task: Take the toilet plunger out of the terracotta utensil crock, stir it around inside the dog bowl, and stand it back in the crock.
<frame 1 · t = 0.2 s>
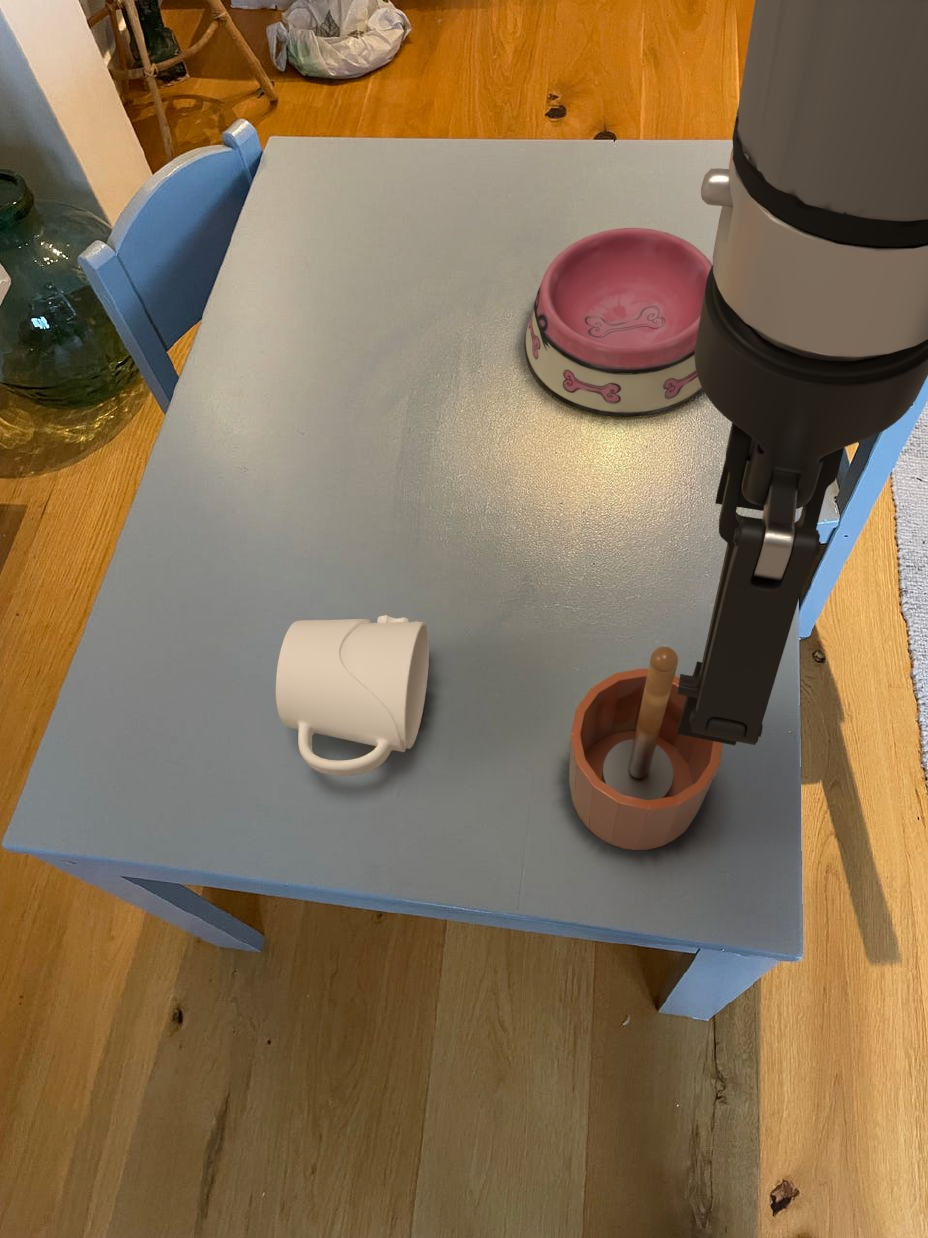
hand: (725, 610, 47), 23 cm above the table, tool pointing down, fingers open, 13 cm apart
toilet plunger: (635, 784, 66), resting on crock
crock: (634, 786, 67), on the table
mug: (362, 716, 71), on the table
dog bowl: (624, 343, 87), on the table
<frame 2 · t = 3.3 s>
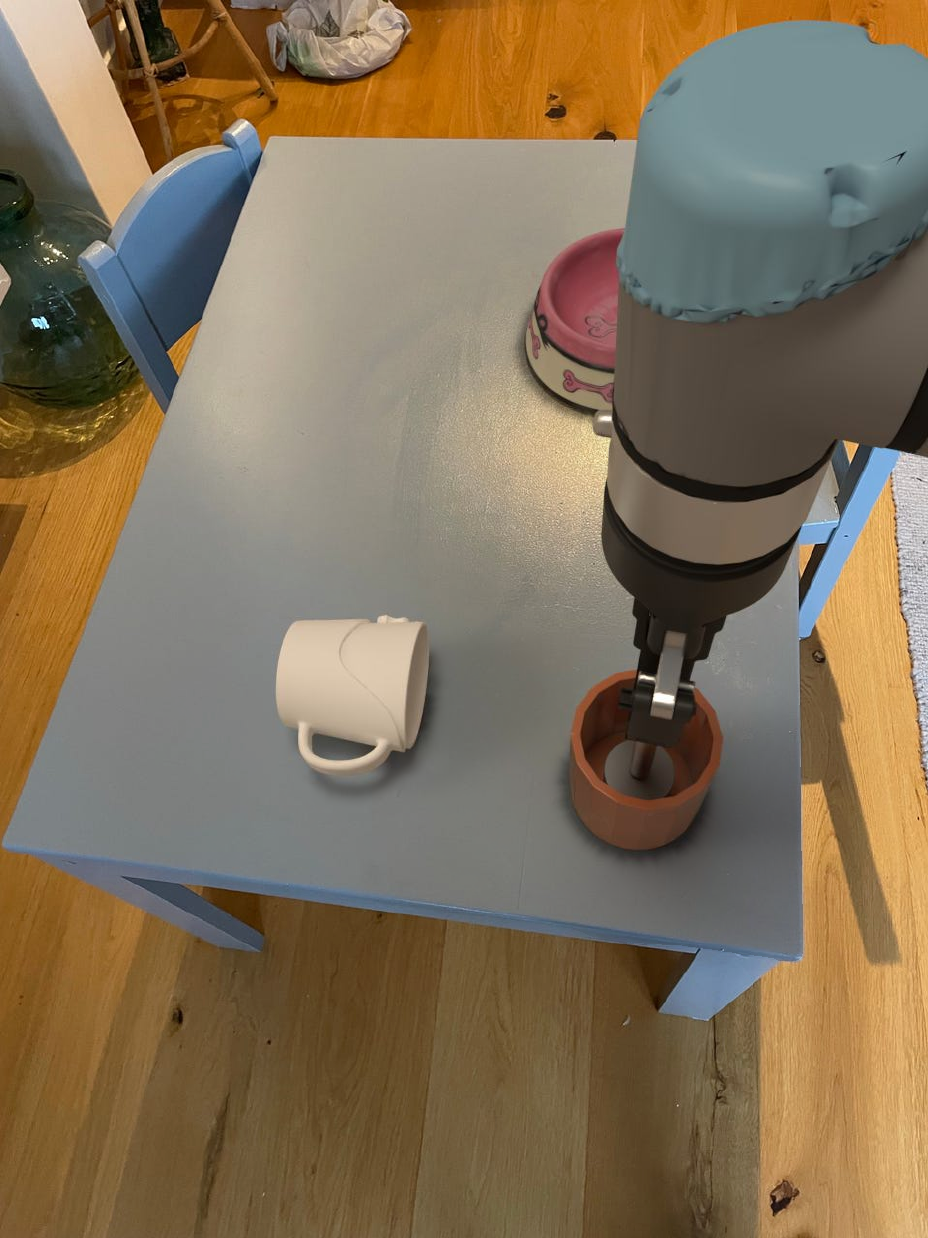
hand: (651, 721, 56), 13 cm above the table, tool pointing down, fingers closed on toilet plunger
toilet plunger: (636, 784, 66), point 1 cm above the table, touching gripper
everything else where it was.
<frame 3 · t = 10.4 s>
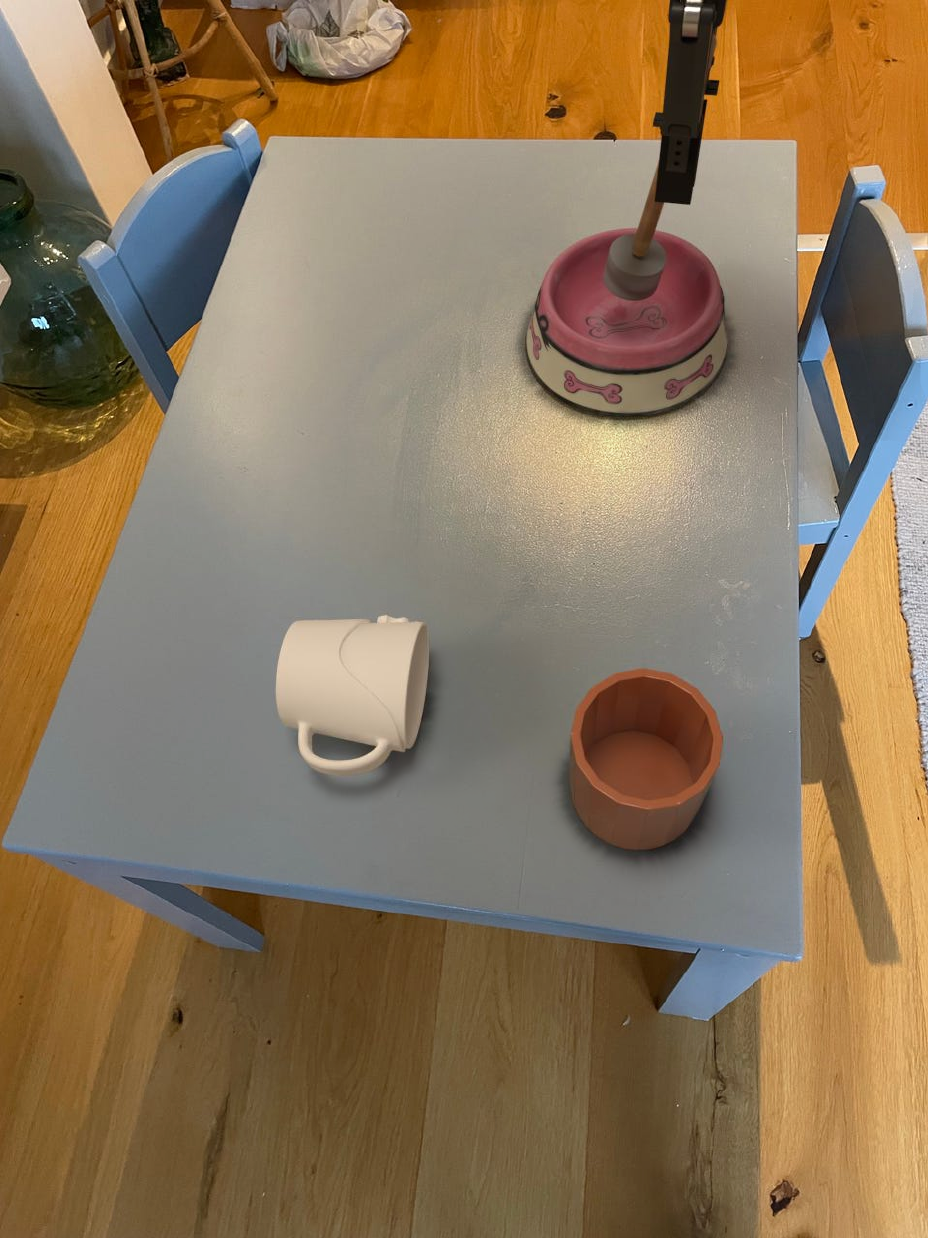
hand: (675, 190, 71), 17 cm above the table, tool pointing down, fingers closed on toilet plunger
toilet plunger: (630, 279, 80), point 8 cm above the table, tilted 10°, touching gripper
everything else where it was.
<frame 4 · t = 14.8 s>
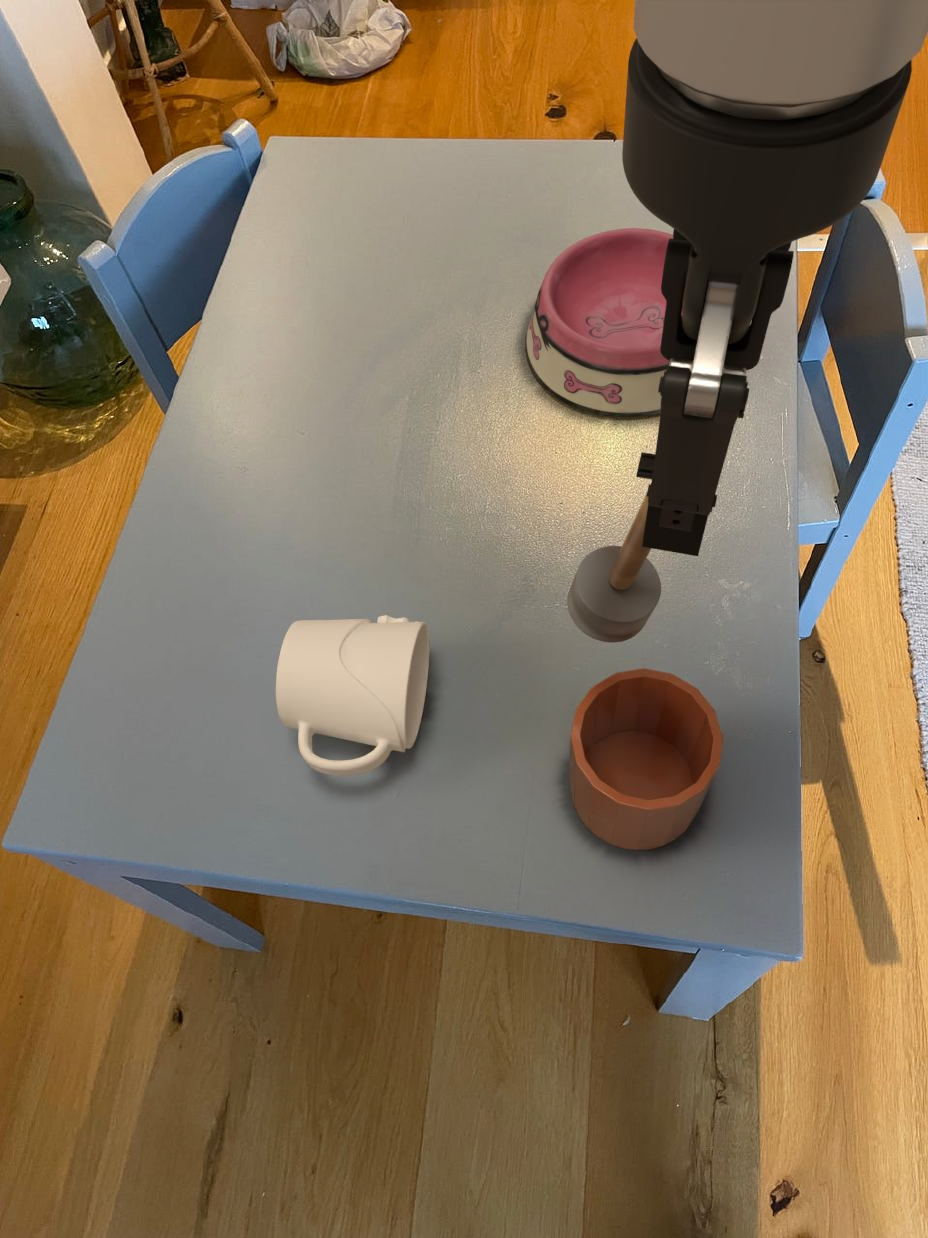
hand: (674, 527, 46), 26 cm above the table, tool pointing down, fingers closed on toilet plunger
toilet plunger: (607, 605, 54), point 17 cm above the table, tilted 10°, touching gripper
everything else where it was.
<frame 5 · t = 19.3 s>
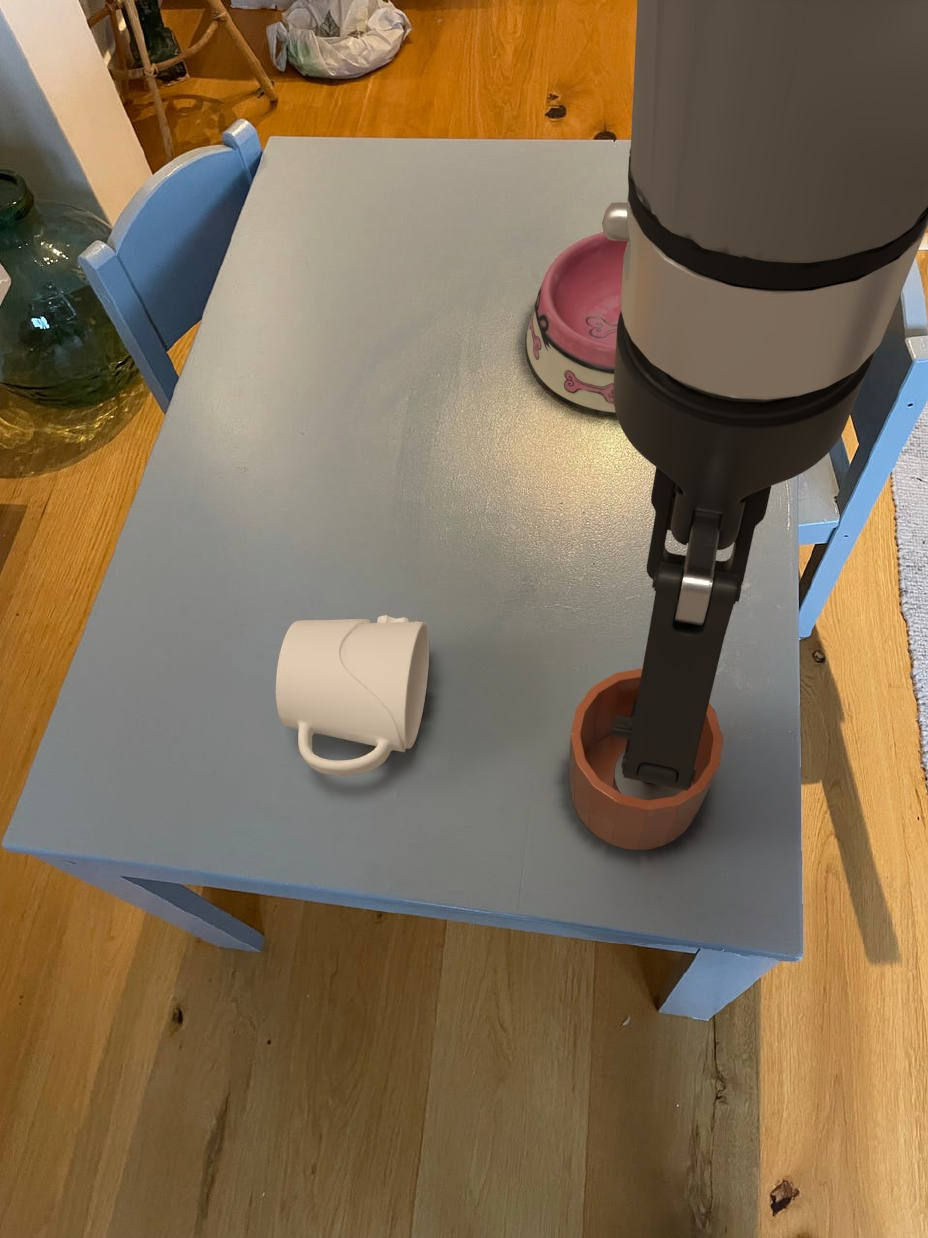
hand: (674, 641, 46), 23 cm above the table, tool pointing down, fingers open, 13 cm apart
toilet plunger: (646, 788, 66), point 1 cm above the table, touching crock
everything else where it was.
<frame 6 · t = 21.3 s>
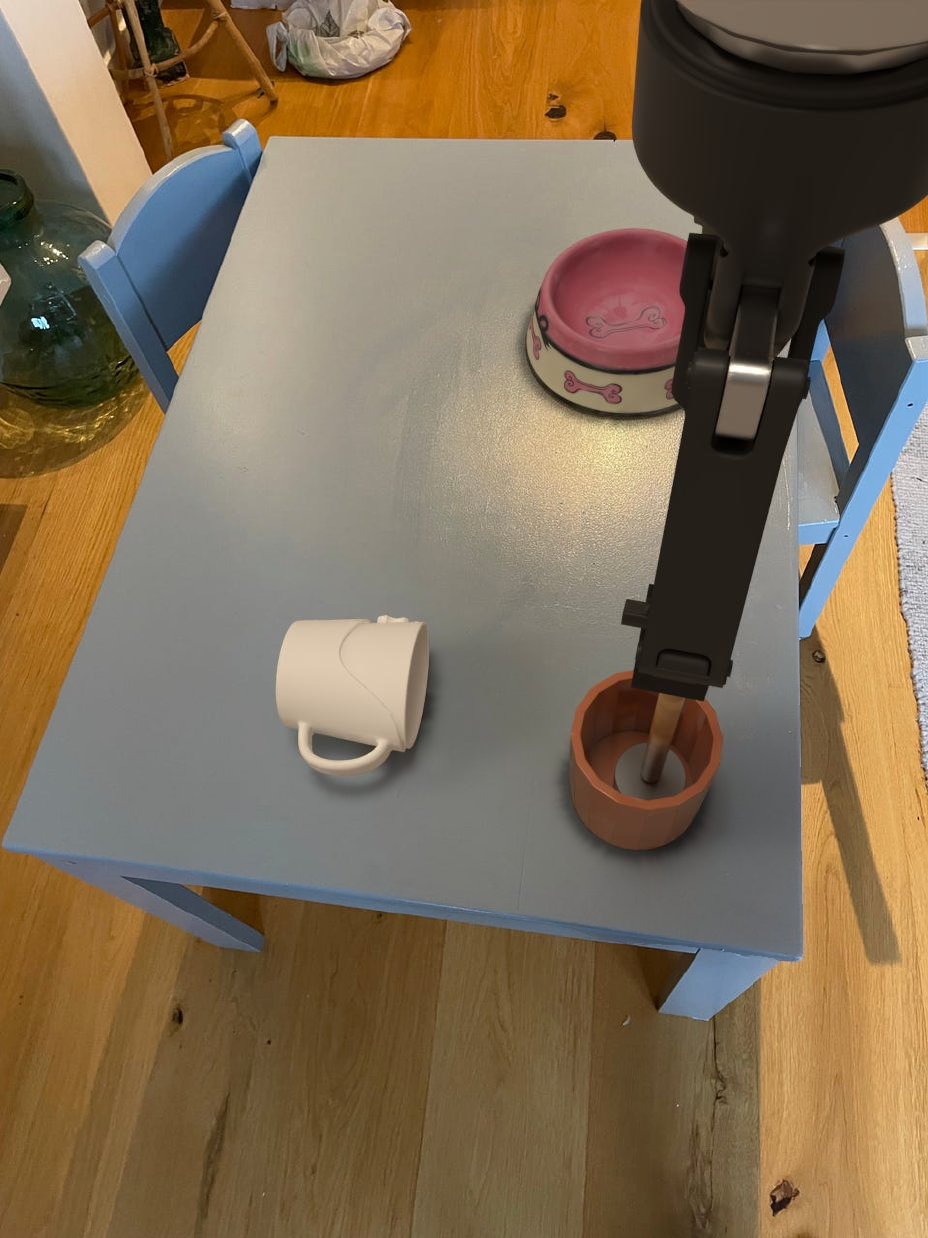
hand: (693, 536, 38), 33 cm above the table, tool pointing down, fingers open, 13 cm apart
nothing on the table moved.
at the end: toilet plunger 0.8 cm off-centre in the crock, point 0.5 cm above the crock's base; toilet plunger tilted 0°; dog bowl moved 0.2 cm from its start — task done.
